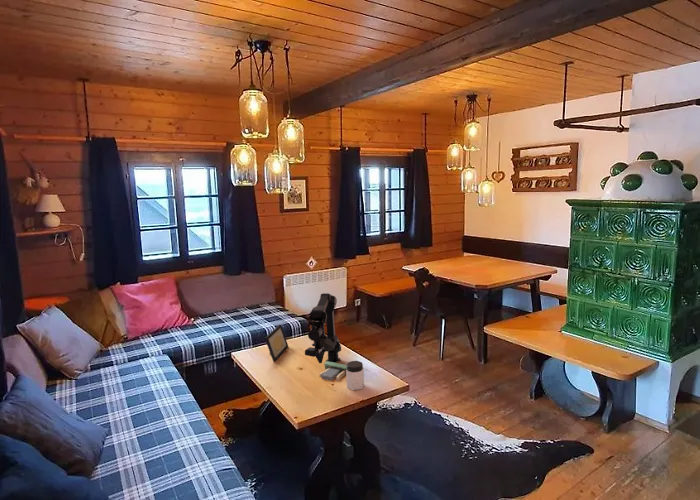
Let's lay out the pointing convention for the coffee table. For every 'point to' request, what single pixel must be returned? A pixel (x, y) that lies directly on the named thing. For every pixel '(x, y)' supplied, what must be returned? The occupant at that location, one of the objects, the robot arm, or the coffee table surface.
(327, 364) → the dock
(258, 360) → the coffee table surface
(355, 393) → the coffee table surface
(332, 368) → the slate tile
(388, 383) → the coffee table surface
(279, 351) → the picture frame
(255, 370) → the coffee table surface
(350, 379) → the jar
